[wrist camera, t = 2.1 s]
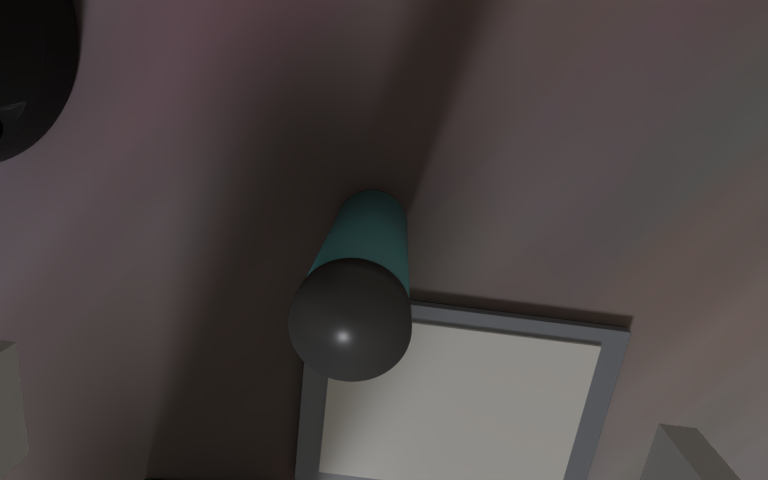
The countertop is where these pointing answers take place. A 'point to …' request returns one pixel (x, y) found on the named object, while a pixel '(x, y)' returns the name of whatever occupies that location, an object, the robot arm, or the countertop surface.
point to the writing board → (467, 402)
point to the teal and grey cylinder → (356, 293)
